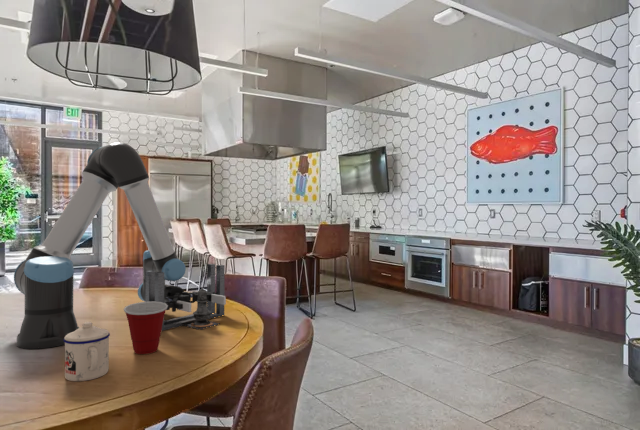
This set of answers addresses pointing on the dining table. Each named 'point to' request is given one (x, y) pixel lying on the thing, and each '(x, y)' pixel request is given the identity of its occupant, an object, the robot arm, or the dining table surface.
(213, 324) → the pad
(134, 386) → the dining table surface
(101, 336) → the teacup with lid
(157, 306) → the plastic cup
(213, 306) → the metal stand
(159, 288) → the metal stand
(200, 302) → the dark grey finial
